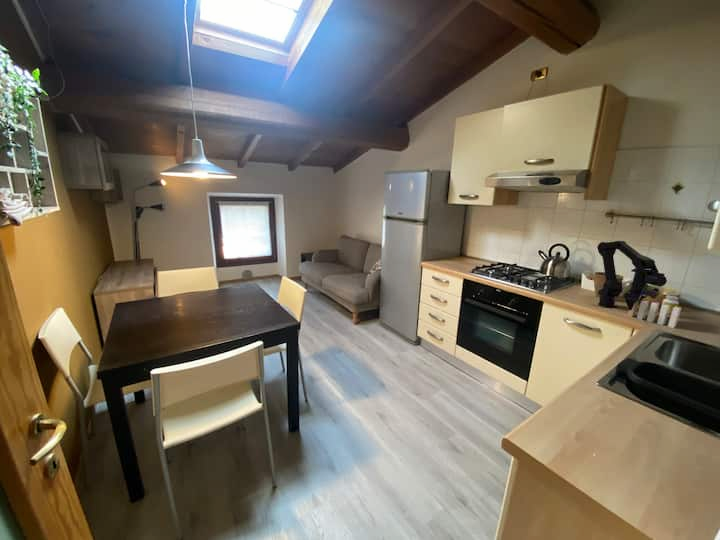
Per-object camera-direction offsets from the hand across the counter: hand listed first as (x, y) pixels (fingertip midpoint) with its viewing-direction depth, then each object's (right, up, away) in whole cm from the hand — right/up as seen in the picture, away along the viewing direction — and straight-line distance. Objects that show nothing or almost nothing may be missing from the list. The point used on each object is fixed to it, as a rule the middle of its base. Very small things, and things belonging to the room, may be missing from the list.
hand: (632, 308), depth 160 cm
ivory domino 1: (+2, -5, -2) cm, 6 cm away
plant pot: (+10, +3, +32) cm, 34 cm away
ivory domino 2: (+4, -6, -6) cm, 9 cm away
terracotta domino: (0, -4, +1) cm, 4 cm away
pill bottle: (+23, -4, +4) cm, 24 cm away
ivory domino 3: (+6, -6, -9) cm, 13 cm away
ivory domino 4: (+8, -7, -12) cm, 16 cm away
